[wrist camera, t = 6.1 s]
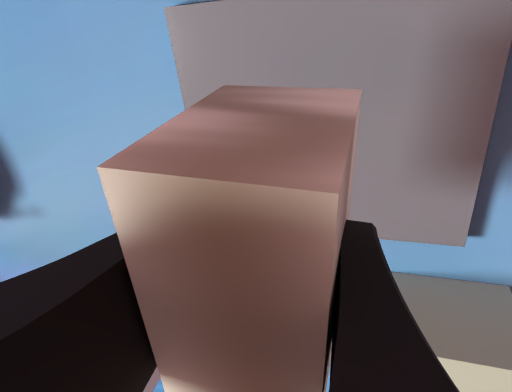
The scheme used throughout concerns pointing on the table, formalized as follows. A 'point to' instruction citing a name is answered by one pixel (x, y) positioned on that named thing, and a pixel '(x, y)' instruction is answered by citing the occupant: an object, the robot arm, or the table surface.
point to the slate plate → (371, 90)
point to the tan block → (239, 235)
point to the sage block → (464, 328)
